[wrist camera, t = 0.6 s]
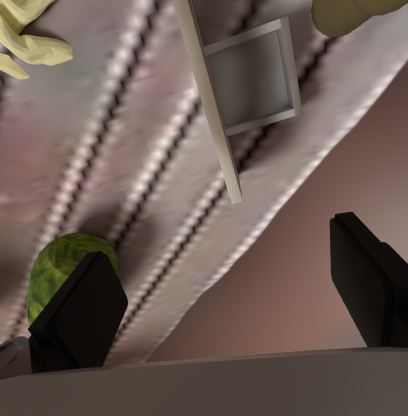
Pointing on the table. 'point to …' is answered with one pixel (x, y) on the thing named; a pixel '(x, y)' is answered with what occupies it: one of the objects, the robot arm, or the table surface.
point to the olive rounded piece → (348, 14)
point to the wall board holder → (241, 82)
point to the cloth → (27, 37)
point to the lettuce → (61, 267)
